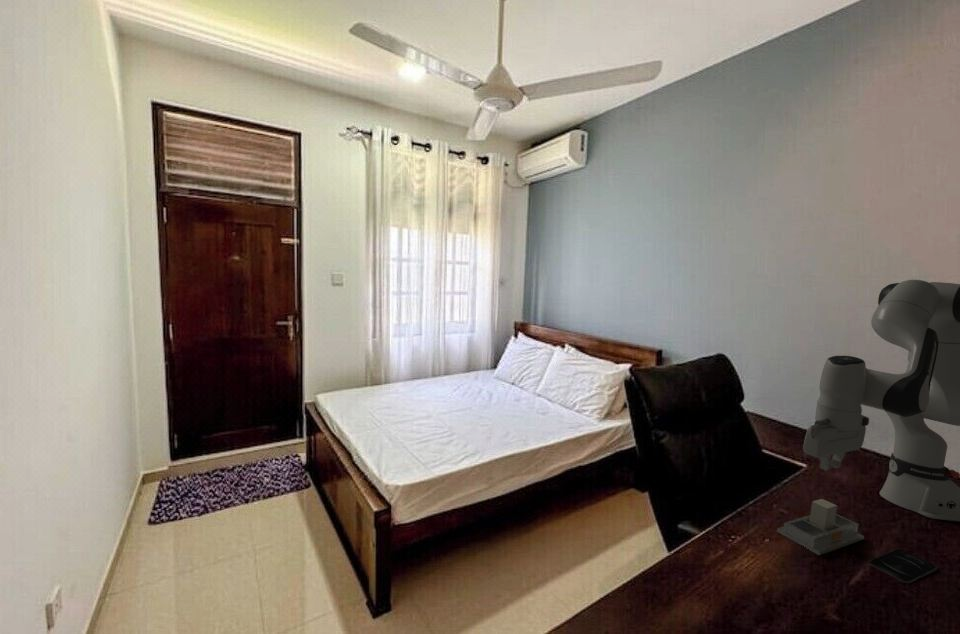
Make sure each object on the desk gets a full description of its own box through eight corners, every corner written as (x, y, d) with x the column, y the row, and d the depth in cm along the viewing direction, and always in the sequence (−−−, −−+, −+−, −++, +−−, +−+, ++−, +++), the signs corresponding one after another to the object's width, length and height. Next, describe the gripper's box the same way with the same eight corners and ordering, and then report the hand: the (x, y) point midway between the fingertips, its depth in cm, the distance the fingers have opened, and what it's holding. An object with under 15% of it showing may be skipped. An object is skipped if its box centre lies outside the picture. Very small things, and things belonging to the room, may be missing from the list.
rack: (820, 518, 118) (822, 506, 118) (863, 539, 109) (865, 527, 109) (776, 531, 111) (778, 519, 110) (819, 555, 102) (821, 542, 101)
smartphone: (866, 561, 100) (898, 547, 106) (866, 565, 100) (898, 551, 106) (907, 583, 93) (939, 567, 99) (907, 586, 93) (938, 570, 99)
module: (818, 526, 112) (822, 498, 112) (833, 533, 109) (837, 505, 108) (808, 529, 111) (812, 501, 110) (823, 537, 107) (827, 508, 107)
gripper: (827, 425, 100) (820, 479, 101) (873, 418, 108) (865, 468, 109) (799, 417, 106) (792, 467, 107) (844, 410, 114) (837, 458, 115)
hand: (829, 468), depth 108 cm, fingers open, 3 cm apart
